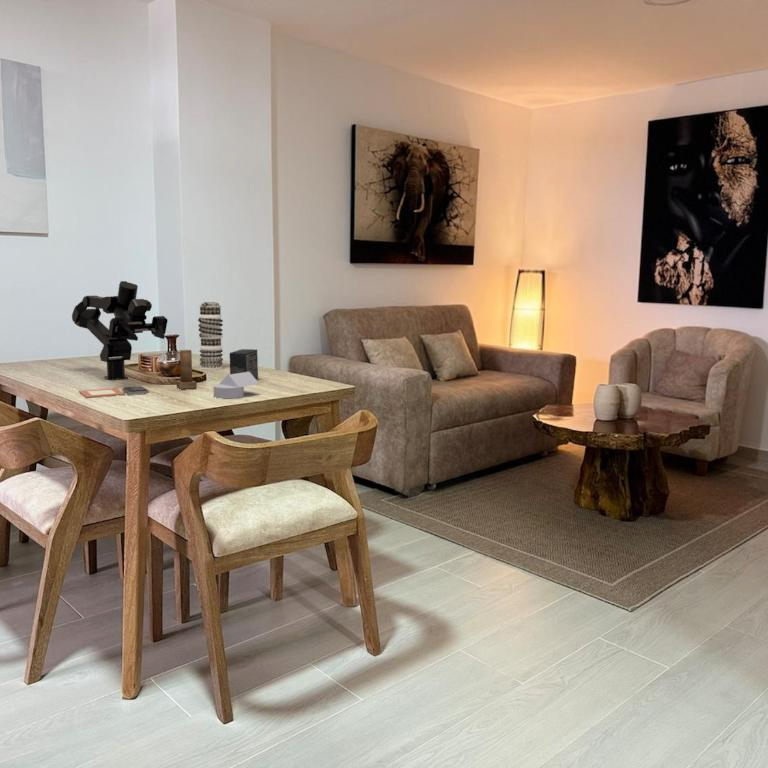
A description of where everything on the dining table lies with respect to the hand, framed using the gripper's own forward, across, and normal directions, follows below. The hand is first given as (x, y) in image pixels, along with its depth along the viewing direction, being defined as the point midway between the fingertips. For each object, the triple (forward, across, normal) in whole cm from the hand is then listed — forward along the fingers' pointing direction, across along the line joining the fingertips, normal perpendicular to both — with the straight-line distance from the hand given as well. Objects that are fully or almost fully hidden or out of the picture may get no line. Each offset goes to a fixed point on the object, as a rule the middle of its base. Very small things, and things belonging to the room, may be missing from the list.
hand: (150, 338), depth 231 cm
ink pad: (+9, -8, +14) cm, 18 cm away
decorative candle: (-18, +38, +24) cm, 49 cm away
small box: (+12, +31, +13) cm, 35 cm away
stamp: (+13, +8, +12) cm, 19 cm away
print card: (+5, -16, +15) cm, 23 cm away
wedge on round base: (+31, +13, +5) cm, 34 cm away
